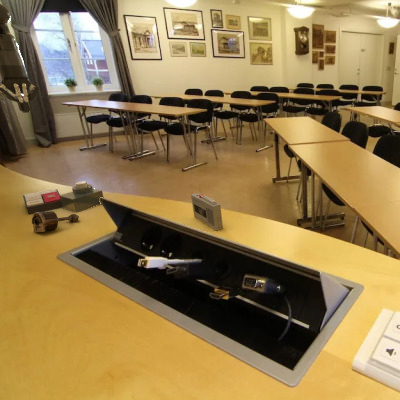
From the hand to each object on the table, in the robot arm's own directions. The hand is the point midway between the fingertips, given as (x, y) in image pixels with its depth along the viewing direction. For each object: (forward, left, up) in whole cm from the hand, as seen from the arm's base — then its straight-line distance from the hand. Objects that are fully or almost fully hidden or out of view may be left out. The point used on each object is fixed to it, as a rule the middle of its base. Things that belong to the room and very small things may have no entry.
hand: (25, 112), depth 125 cm
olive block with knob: (0, -23, -35) cm, 42 cm away
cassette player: (+11, -78, -35) cm, 86 cm away
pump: (+2, -22, -28) cm, 36 cm away
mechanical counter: (-16, -35, -35) cm, 52 cm away
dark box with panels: (-7, -9, -35) cm, 37 cm away
